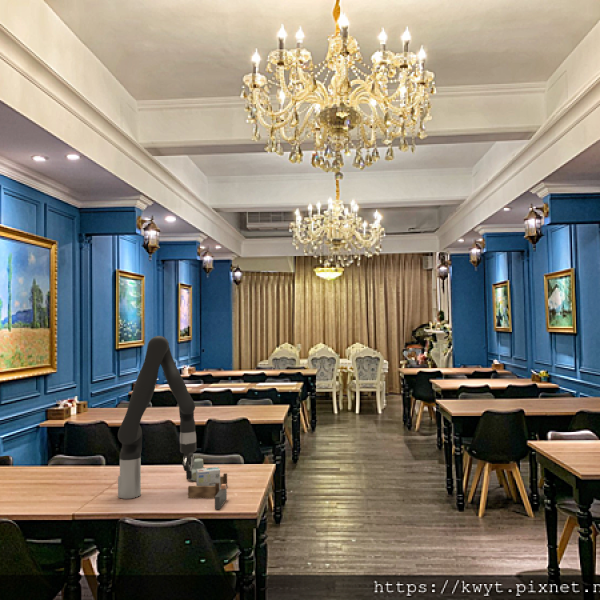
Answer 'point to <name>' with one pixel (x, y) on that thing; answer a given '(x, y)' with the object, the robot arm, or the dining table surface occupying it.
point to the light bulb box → (208, 476)
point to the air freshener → (197, 465)
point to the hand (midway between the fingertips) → (189, 479)
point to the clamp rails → (206, 489)
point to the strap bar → (221, 497)
